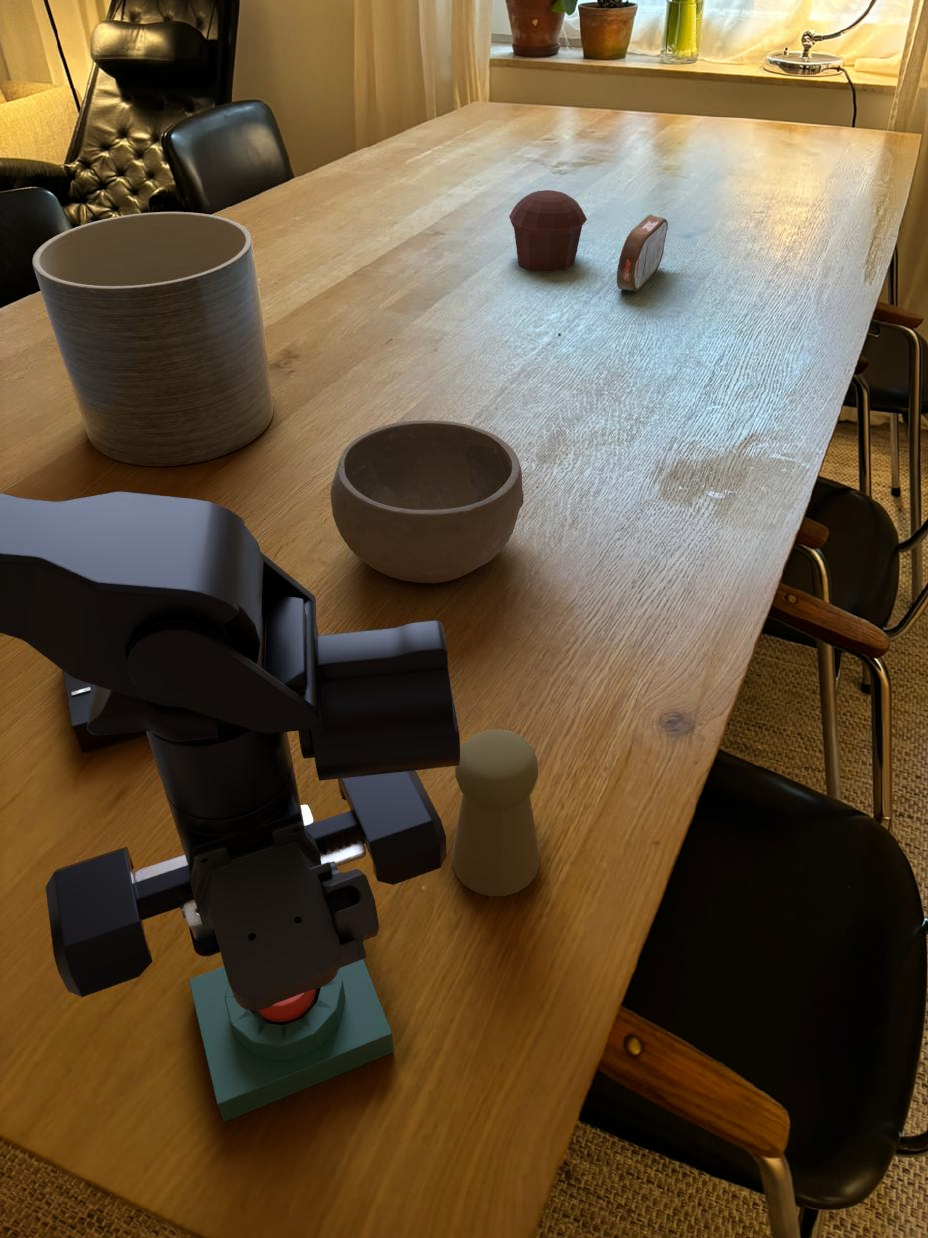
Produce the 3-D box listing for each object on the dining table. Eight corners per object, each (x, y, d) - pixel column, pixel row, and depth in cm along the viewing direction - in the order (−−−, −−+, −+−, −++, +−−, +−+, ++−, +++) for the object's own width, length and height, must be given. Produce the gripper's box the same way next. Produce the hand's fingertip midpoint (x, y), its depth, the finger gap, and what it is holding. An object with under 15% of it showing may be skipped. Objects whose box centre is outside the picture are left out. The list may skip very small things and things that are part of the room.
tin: (646, 262, 152) (652, 205, 146) (666, 265, 151) (673, 208, 145) (612, 297, 142) (617, 238, 136) (633, 301, 140) (639, 241, 135)
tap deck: (83, 764, 75) (72, 735, 73) (66, 664, 84) (56, 636, 82) (264, 710, 79) (258, 682, 77) (230, 621, 88) (224, 593, 86)
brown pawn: (459, 818, 71) (456, 709, 64) (544, 829, 70) (550, 720, 63) (444, 890, 66) (439, 781, 59) (534, 902, 65) (540, 793, 58)
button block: (224, 1123, 55) (211, 1089, 52) (195, 998, 60) (182, 962, 58) (394, 1052, 58) (390, 1017, 55) (351, 940, 63) (346, 903, 61)
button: (261, 1032, 55) (256, 1016, 54) (246, 977, 57) (241, 961, 56) (324, 1008, 56) (320, 992, 55) (306, 955, 58) (302, 939, 57)
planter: (241, 477, 106) (207, 293, 93) (48, 462, 109) (-11, 282, 96) (301, 382, 123) (279, 215, 110) (132, 371, 126) (92, 207, 113)
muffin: (494, 264, 152) (494, 196, 146) (533, 243, 159) (534, 177, 152) (560, 281, 147) (563, 211, 140) (597, 258, 153) (602, 190, 147)
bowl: (531, 508, 101) (534, 420, 94) (505, 619, 87) (506, 525, 81) (367, 493, 103) (359, 406, 97) (317, 599, 90) (304, 506, 83)
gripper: (23, 1003, 36) (123, 1176, 46) (492, 835, 41) (490, 1023, 51) (3, 785, 44) (93, 974, 54) (400, 669, 49) (414, 860, 59)
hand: (275, 959), depth 54 cm, fingers closed
